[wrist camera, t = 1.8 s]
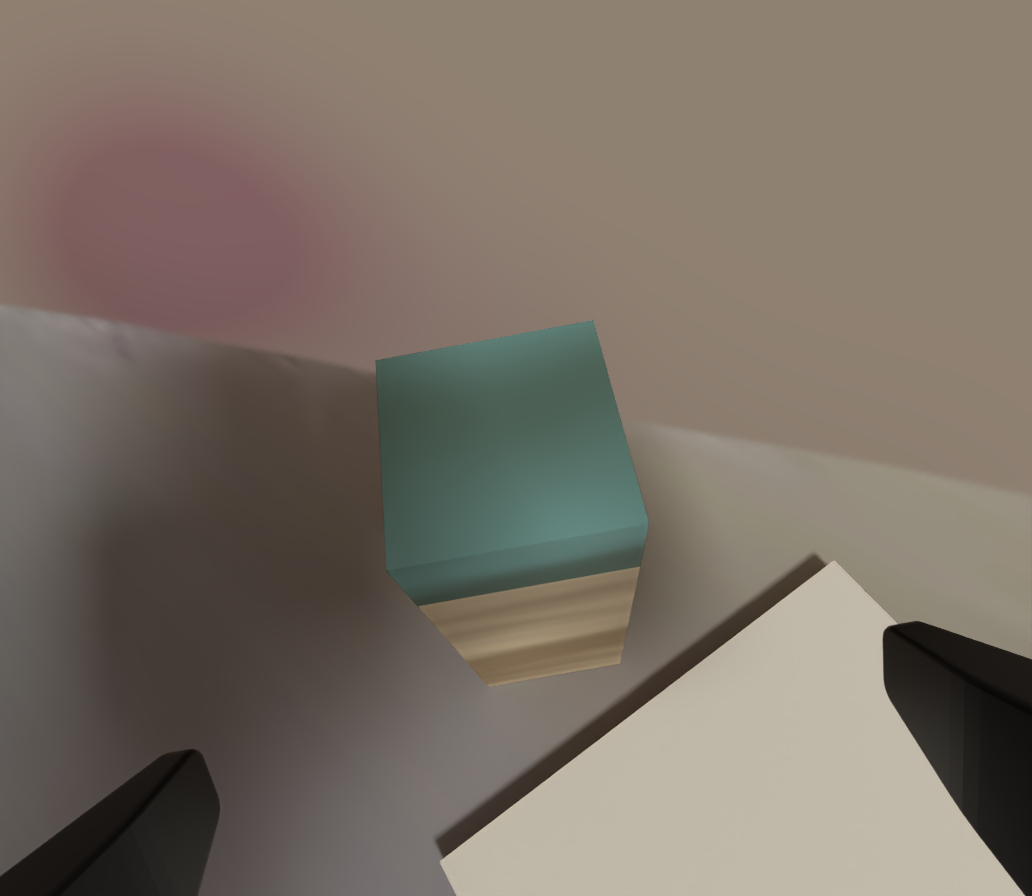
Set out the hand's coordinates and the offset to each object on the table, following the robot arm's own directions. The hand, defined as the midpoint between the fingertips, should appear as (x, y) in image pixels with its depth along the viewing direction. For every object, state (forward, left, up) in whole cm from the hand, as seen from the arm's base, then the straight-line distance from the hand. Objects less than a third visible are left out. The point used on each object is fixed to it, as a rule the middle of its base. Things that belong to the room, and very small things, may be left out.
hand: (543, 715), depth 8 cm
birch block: (+2, +4, -11) cm, 12 cm away
